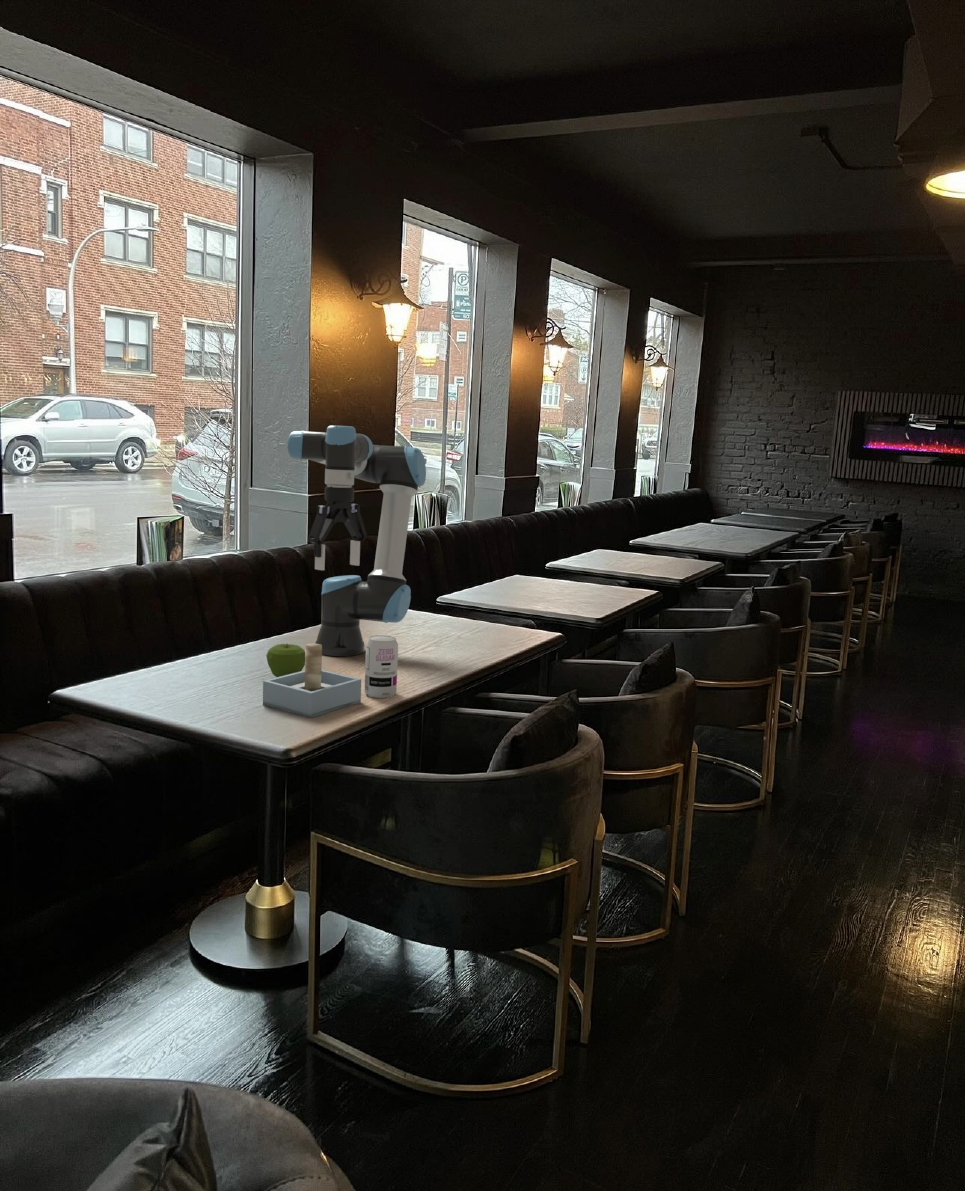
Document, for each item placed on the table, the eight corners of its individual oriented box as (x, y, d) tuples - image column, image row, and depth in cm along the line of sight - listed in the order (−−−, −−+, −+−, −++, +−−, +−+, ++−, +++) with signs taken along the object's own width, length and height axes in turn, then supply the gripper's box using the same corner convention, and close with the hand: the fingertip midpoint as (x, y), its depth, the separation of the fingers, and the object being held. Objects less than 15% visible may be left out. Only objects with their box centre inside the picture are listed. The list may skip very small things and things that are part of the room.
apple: (259, 677, 262) (259, 641, 260) (293, 672, 268) (294, 637, 267) (278, 686, 254) (278, 649, 252) (313, 681, 260) (314, 645, 259)
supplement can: (380, 688, 257) (382, 633, 254) (402, 695, 252) (404, 638, 249) (358, 693, 250) (359, 637, 248) (380, 700, 245) (382, 643, 243)
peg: (301, 700, 239) (302, 645, 237) (312, 697, 242) (313, 642, 240) (312, 703, 237) (314, 647, 235) (324, 700, 240) (325, 645, 238)
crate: (262, 704, 237) (263, 680, 236) (313, 690, 252) (314, 668, 251) (310, 717, 228) (311, 693, 227) (360, 702, 243) (361, 679, 242)
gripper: (316, 488, 237) (315, 573, 241) (381, 486, 258) (379, 564, 261) (294, 485, 241) (293, 569, 245) (360, 484, 262) (357, 561, 265)
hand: (337, 567), depth 253 cm, fingers open, 13 cm apart
